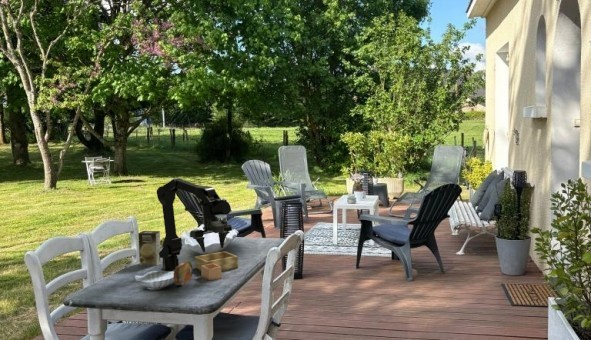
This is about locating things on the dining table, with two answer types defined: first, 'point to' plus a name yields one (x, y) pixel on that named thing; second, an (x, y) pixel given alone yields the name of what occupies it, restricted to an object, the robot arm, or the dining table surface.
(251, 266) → the dining table surface
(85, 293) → the dining table surface
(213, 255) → the pine crate
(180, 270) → the tin
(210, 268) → the terracotta crate
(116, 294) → the dining table surface
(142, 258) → the coffee box
